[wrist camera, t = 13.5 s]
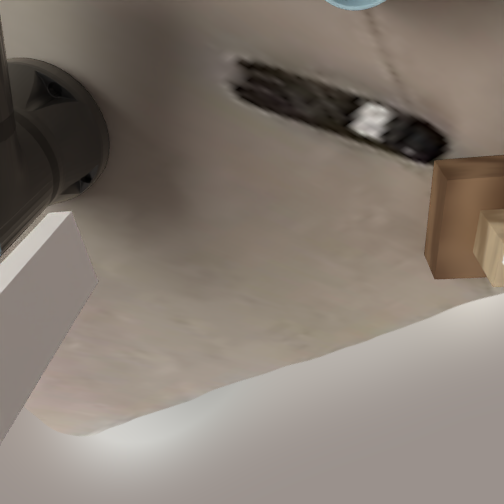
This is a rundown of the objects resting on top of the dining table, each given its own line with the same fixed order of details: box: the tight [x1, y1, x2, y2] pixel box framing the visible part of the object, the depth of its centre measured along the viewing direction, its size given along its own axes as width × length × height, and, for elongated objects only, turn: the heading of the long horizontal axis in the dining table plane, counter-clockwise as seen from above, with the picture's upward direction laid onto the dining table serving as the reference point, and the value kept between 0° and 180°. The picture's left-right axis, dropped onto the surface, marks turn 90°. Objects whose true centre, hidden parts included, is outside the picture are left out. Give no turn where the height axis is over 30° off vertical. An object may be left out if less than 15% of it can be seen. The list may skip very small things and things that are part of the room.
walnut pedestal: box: [424, 155, 504, 279], centre depth 48 cm, size 12×12×5 cm
